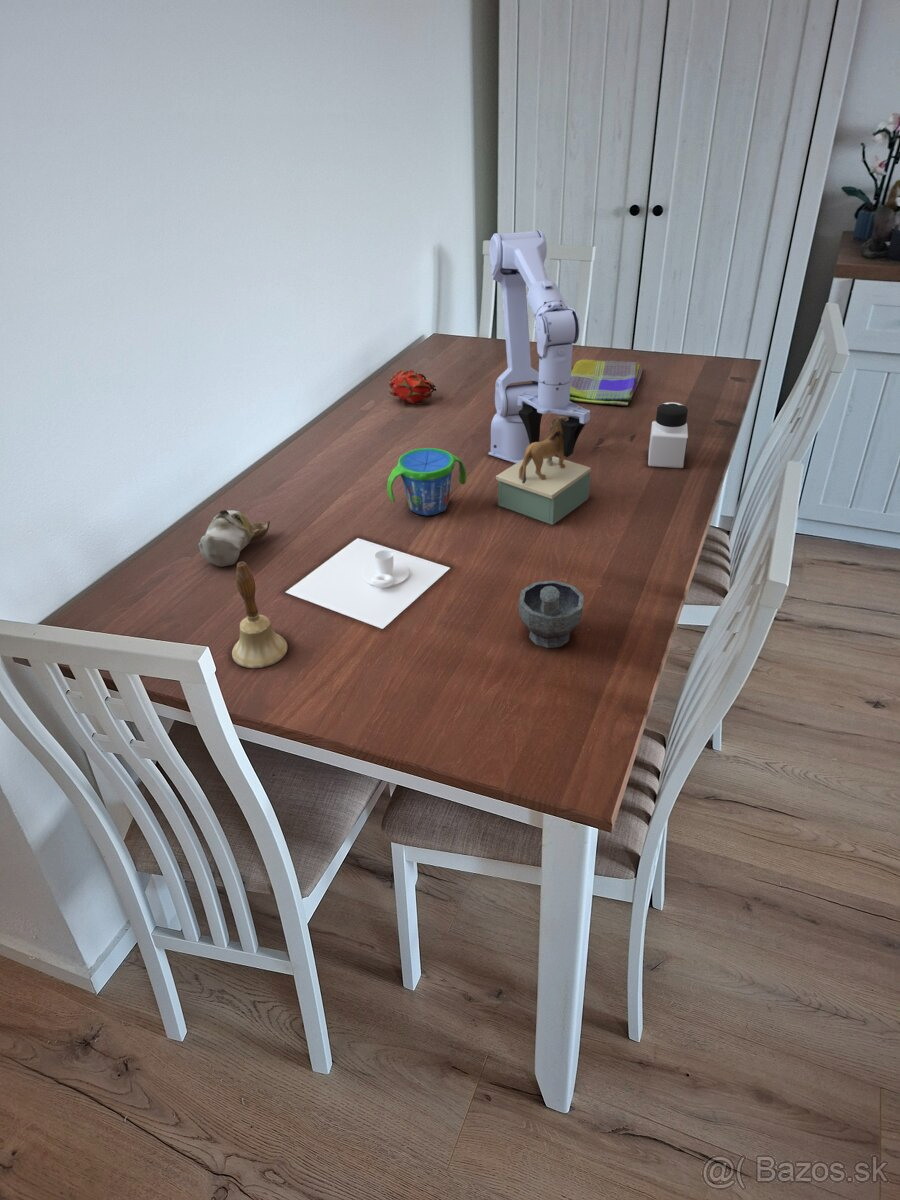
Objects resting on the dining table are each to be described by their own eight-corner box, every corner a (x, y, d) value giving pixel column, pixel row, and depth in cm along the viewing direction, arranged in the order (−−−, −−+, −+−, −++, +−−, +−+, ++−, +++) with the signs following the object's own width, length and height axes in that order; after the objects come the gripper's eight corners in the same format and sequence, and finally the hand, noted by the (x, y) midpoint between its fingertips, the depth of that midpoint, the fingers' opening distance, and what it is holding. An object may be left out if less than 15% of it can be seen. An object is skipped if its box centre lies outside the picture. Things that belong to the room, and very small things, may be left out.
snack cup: (396, 528, 157) (393, 479, 151) (381, 502, 165) (378, 454, 159) (475, 513, 161) (475, 464, 155) (457, 488, 169) (456, 441, 163)
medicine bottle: (683, 469, 173) (691, 413, 166) (648, 466, 175) (654, 411, 168) (682, 453, 179) (690, 400, 172) (648, 451, 180) (654, 398, 173)
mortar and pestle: (522, 613, 134) (524, 549, 127) (582, 618, 133) (587, 554, 126) (514, 658, 125) (515, 592, 118) (578, 664, 124) (583, 597, 117)
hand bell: (285, 666, 125) (269, 577, 116) (228, 670, 125) (208, 581, 115) (289, 632, 132) (274, 545, 122) (235, 636, 131) (216, 548, 122)
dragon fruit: (387, 404, 209) (433, 415, 207) (379, 395, 201) (427, 406, 199) (396, 370, 209) (442, 381, 207) (388, 360, 200) (436, 371, 199)
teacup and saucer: (389, 595, 139) (387, 575, 137) (350, 582, 143) (348, 562, 140) (418, 570, 145) (417, 550, 143) (380, 557, 149) (379, 538, 146)
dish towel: (557, 401, 204) (557, 390, 202) (575, 366, 223) (576, 355, 221) (630, 408, 199) (631, 396, 198) (642, 371, 218) (644, 361, 217)
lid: (551, 499, 153) (552, 495, 152) (495, 479, 159) (495, 476, 159) (590, 471, 161) (591, 467, 160) (535, 454, 167) (536, 450, 167)
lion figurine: (552, 453, 166) (554, 410, 161) (576, 460, 163) (579, 416, 158) (511, 482, 156) (512, 437, 151) (536, 490, 154) (537, 444, 148)
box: (552, 525, 156) (554, 497, 153) (497, 505, 163) (498, 478, 160) (588, 498, 164) (590, 471, 161) (534, 480, 171) (535, 454, 167)
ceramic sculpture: (177, 526, 142) (213, 489, 154) (186, 571, 146) (220, 531, 159) (237, 531, 140) (269, 493, 152) (244, 576, 145) (275, 536, 157)
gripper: (508, 377, 152) (507, 446, 160) (577, 395, 145) (572, 467, 153) (530, 366, 157) (528, 434, 165) (598, 383, 149) (592, 453, 157)
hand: (551, 449), depth 159 cm, fingers open, 7 cm apart
